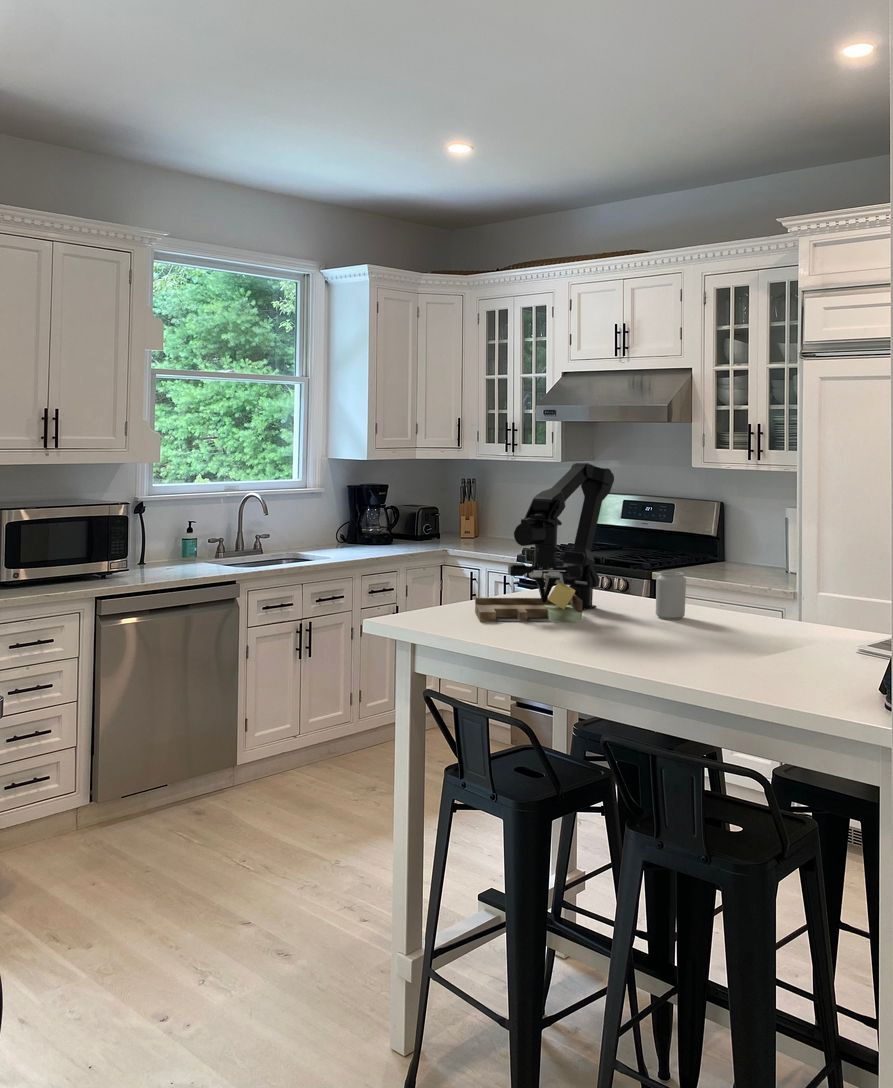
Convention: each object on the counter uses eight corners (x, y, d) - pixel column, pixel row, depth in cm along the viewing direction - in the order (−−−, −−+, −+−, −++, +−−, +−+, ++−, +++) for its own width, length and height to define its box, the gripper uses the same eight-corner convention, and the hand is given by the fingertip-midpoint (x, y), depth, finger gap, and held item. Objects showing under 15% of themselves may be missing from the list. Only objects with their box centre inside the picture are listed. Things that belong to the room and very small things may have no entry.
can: (682, 615, 260) (684, 570, 259) (686, 620, 253) (688, 574, 251) (653, 614, 261) (655, 570, 260) (657, 619, 254) (658, 574, 252)
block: (565, 606, 257) (575, 590, 256) (564, 609, 252) (574, 593, 251) (549, 596, 257) (559, 580, 256) (547, 599, 252) (557, 583, 251)
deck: (571, 612, 261) (572, 592, 261) (581, 622, 249) (582, 600, 248) (475, 612, 260) (475, 592, 259) (480, 621, 247) (480, 600, 246)
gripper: (575, 540, 263) (573, 597, 265) (506, 539, 262) (504, 597, 263) (583, 545, 252) (581, 604, 254) (511, 544, 251) (510, 604, 252)
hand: (543, 602), depth 256 cm, fingers closed
